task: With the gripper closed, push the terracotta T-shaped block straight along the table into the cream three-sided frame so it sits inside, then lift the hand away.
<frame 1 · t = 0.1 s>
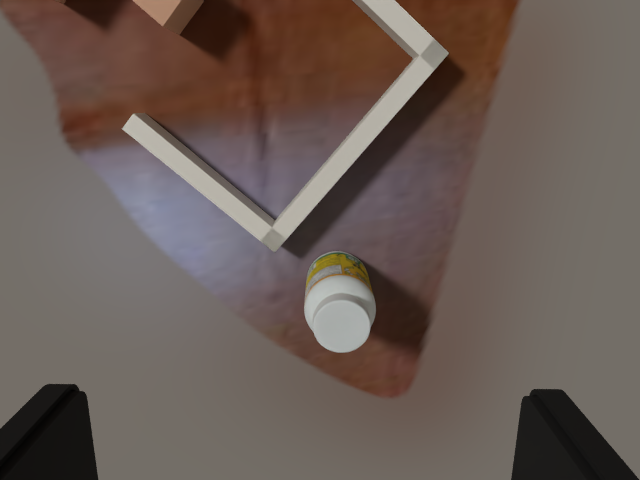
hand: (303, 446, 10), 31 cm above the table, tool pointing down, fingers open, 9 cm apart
supplement bottle: (337, 278, 43), on the table
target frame: (289, 97, 38), on the table
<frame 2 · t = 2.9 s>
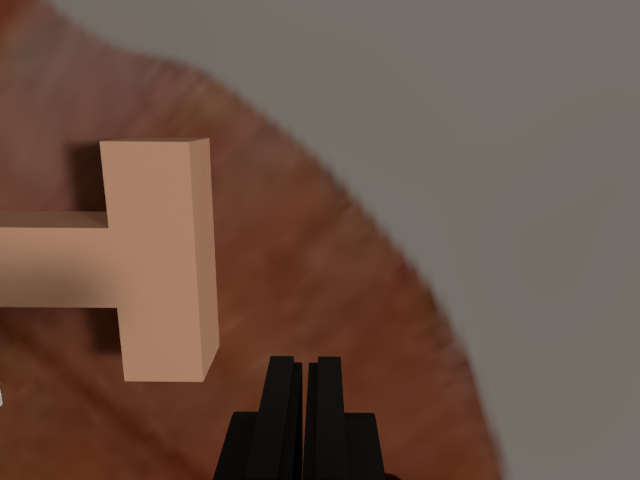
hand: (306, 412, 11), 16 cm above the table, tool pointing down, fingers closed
t block: (135, 246, 27), on the table
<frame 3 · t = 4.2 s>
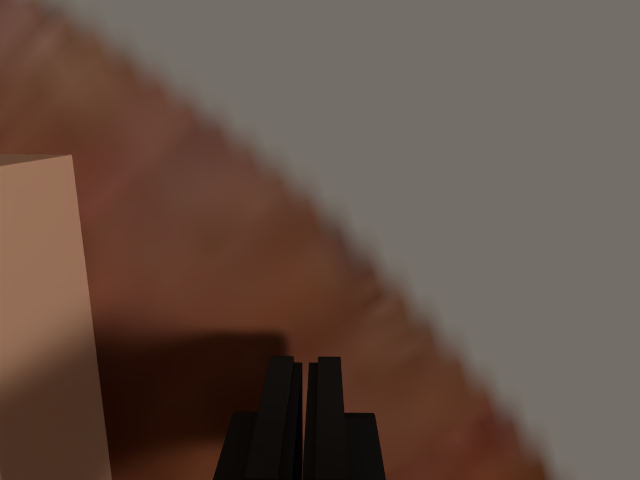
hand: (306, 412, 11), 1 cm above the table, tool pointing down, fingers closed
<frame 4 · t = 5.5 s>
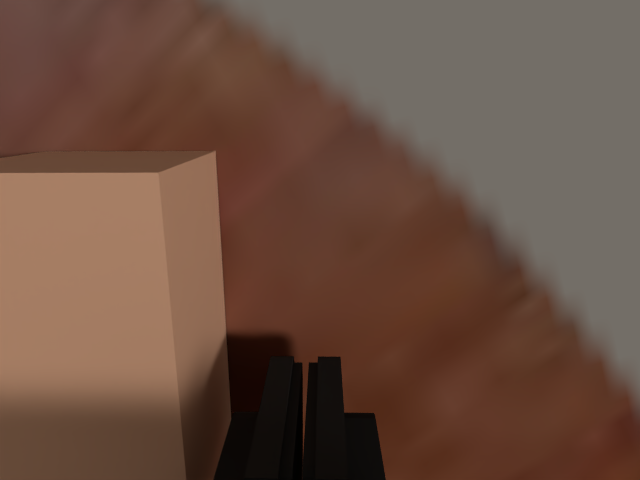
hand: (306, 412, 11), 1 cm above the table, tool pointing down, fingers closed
t block: (63, 380, 13), on the table, touching gripper
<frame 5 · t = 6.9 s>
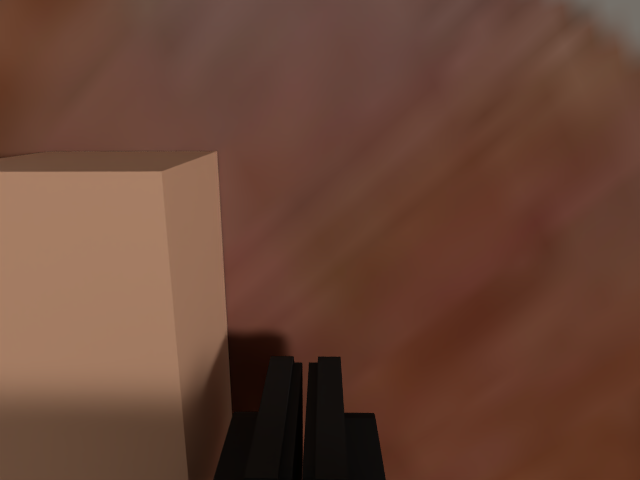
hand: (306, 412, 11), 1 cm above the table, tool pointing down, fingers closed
t block: (65, 378, 13), on the table, touching gripper
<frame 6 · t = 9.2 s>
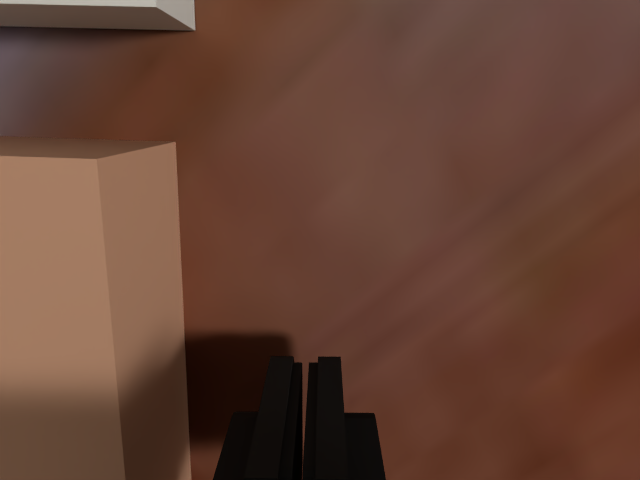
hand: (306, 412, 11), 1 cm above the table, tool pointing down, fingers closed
t block: (19, 368, 13), on the table
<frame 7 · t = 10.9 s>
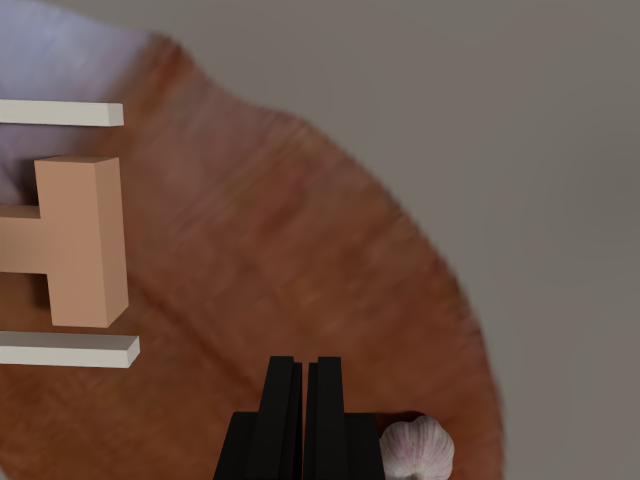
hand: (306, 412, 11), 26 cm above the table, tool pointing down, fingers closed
t block: (67, 232, 38), on the table
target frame: (29, 233, 38), on the table
garlic bulb: (406, 441, 43), on the table
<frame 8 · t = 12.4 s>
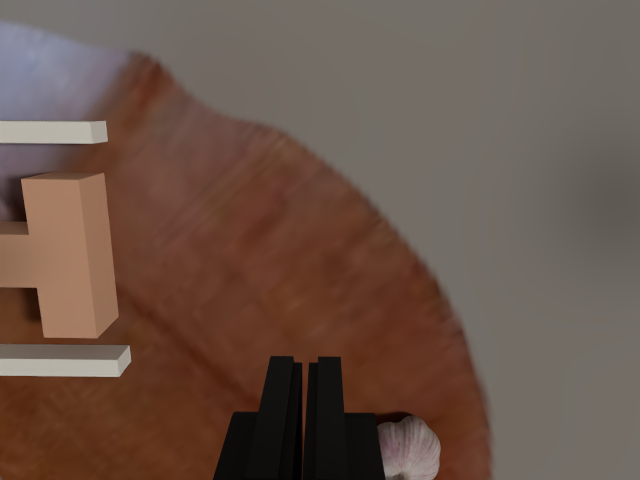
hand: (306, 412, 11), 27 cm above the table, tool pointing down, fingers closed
t block: (57, 246, 39), on the table
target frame: (20, 248, 39), on the table
garlic bulb: (394, 441, 44), on the table
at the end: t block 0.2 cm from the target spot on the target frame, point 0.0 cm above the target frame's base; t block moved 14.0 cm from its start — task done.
